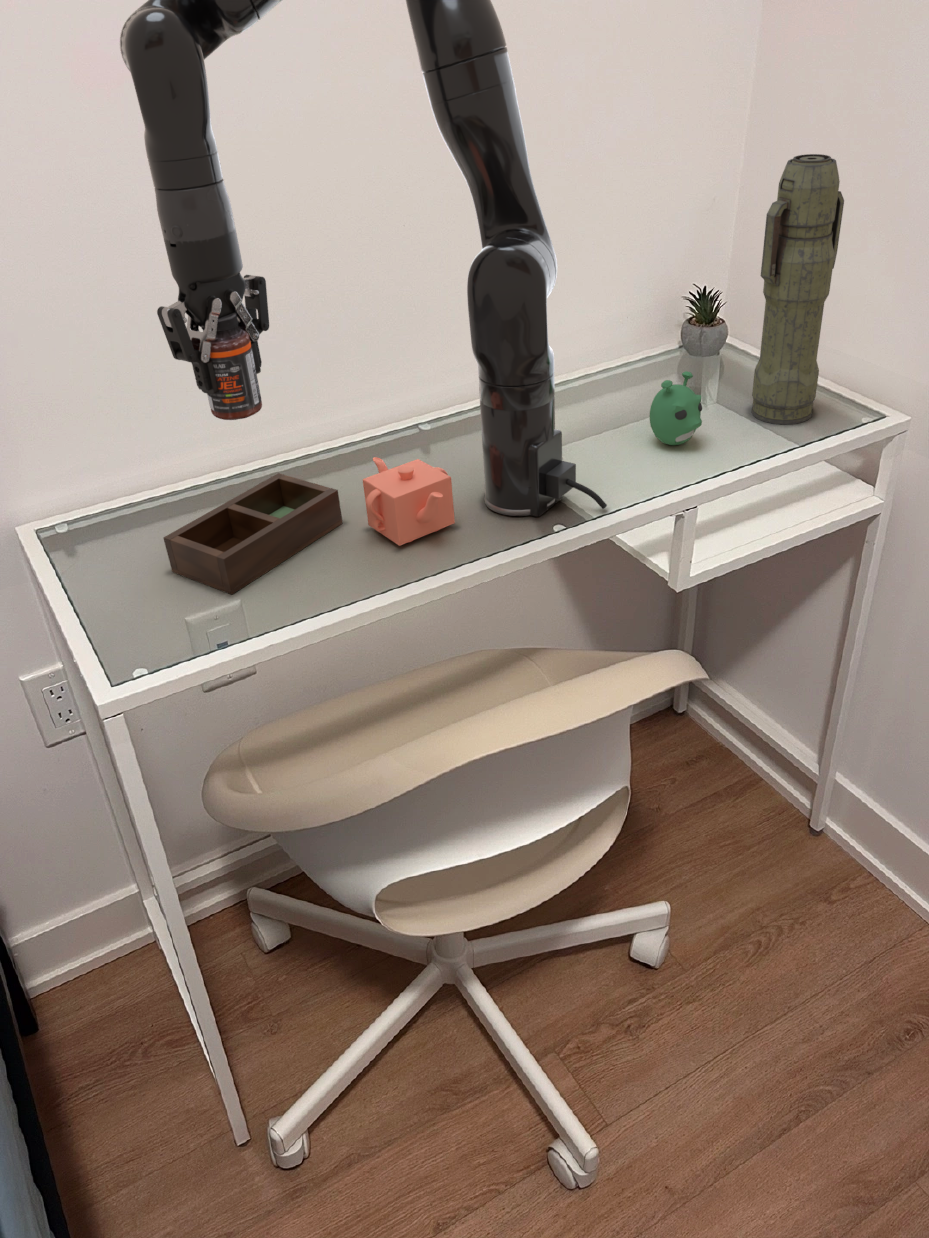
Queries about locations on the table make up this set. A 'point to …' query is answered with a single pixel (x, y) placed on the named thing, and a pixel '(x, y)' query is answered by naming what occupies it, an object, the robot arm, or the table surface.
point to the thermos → (796, 287)
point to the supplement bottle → (233, 372)
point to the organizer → (253, 532)
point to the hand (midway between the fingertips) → (231, 382)
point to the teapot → (408, 500)
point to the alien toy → (675, 412)
